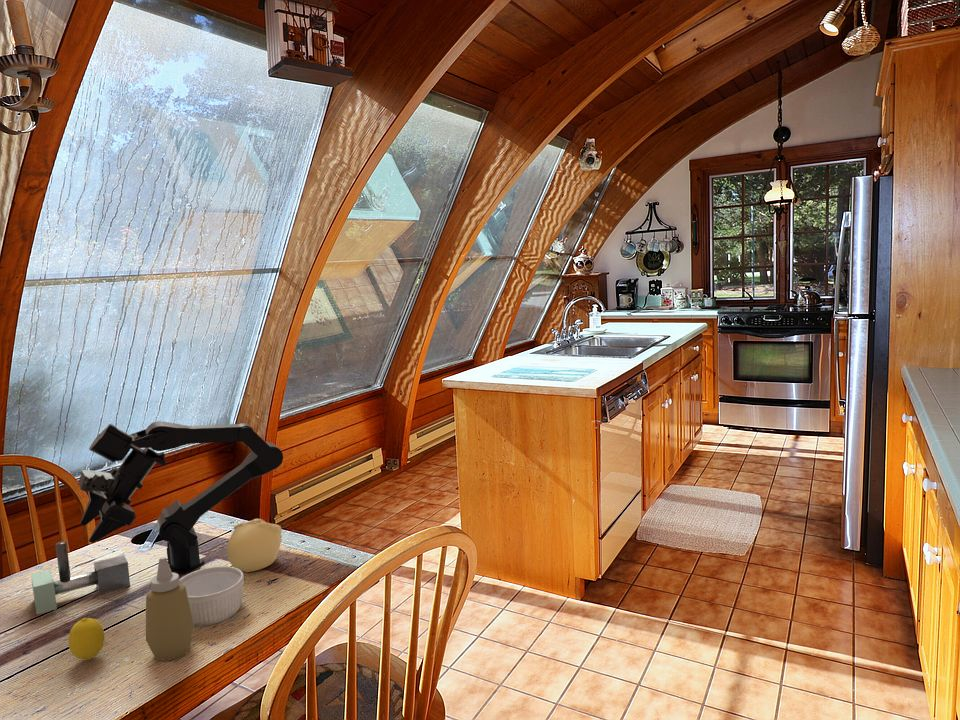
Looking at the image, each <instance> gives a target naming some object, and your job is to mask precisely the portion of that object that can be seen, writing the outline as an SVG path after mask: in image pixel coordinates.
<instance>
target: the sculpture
mask: <svg viewBox="0 0 960 720" xmlns="http://www.w3.org/2000/svg"><path fill="white" fill-rule="evenodd" d="M233 530H234V531H233V532H232V533H231V535H230V537H229V538H228V541H227V544H226V557H227V559H228V561H229V563H230V564H231V565H230V566H231V567H235V568H237V569H239V570H241V571H242V572H244V573H245V572H247V573H248V572H255V571H259V570H262V569H265V568H266V567H268V566H270V565H272V564H273V563H274V562H275V561H276V560H277V557H278V555H279V551H280V547H281V544H282V541H283V539H282V538H283V536H282V527H281V525H279V524H276V523H271V522H267V521H265V520H264V519H261V518H254V519H252V520H249V521H246V522H240V523H238V524H235V525H234V526H233Z"/></svg>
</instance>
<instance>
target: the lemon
mask: <svg viewBox="0 0 960 720" xmlns="http://www.w3.org/2000/svg"><path fill="white" fill-rule="evenodd" d="M105 639H106V638H105V631H104V628H103V626H102V623H101V622H100V621H99V620H97V619H96V618H93V617H92V618H91V617H88V618H87V617H83V618H81V619H80V620H78V621H77V622H76V623H75V624H73V626H72V627H71V629H70V631H69V635H68V649H69V650H70V653H71V654H72V656H74V657H75V658H76V659H80V660H87V661H90V660H92V658H93V657H95V656H96V655H98V654H99V653H100V651H101V650H102V648H103V646H104V643H105Z"/></svg>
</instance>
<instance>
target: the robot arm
mask: <svg viewBox="0 0 960 720" xmlns="http://www.w3.org/2000/svg"><path fill="white" fill-rule="evenodd" d="M233 442H234V443H235V442H236V443H238V442H241V443H243V444H244V445H246V447H248V448H249V450H251V451H250V452H249V453H248V455H247V456H246V457H245V458H244V459H243V461H242V462H241V463H240V464H239V465H238V466H236V467H235V468H233V469H232V470H231V471H229V472H228V473H226V474H225V475H224V476H222V477H221V478H220V479H219V480H217V481H216V482H214V483H212V485H210V486H208V487H207V488H205V489H204V490H203V491H202V492H200V493H199V494H198V495H196V496H195V497H193V498H192V499H190V500H188V501H186V502H182V503H181V502H180V500H179V499H176V500H174V501H173V502H172V503H171V504H170V505H169V506H167V507H166V508H162V509H161V512H162V513H160V514H159V516H158V517H157V521H156V526H157V531H158V534H159V537H160V538H161V539H162V540H163V541H165V542H166V546H167V547H166V555H167V556H166V558H167V561H168V564H169V566H170V569H171V572H172V573H177V574H178V573H179V574H189V573H190V572H191V571H193V570H194V569H196V568H197V567H199V566H201V565H203V564H204V563H206V561H205V559H200V558H201V557H200V549H199V547H200V546H199V540H198V535H197V532H196V530H195V528H194V526H195V525H196V523H197V522H198V521H199V519H200V518H201V517H202V516H203V515H204V514H206V513H207V512H208V511H210V510H212V509H213V508H215V506H217V505H218V504H220V503H221V502H222V501H224V500H226V498H228V497H230V495H232V494H234V493H235V492H236V491H237V490H239V489H240V488H242V487H243V486H244V485H246V484H247V483H248V482H250V481H251V480H253V479H255V478H258V477H261V476H264V475H267V474H269V473H271V472H272V471H274V470H276V469H278V468H279V467H281V465H282V464H283V462H284V460H283V459H284V454H283V451H282V450H281V449H280V448H279V447H278V446H277V445H276V444H274V443H273V442H271V441H265V440H264V439H263V438H262V437H261V436H260V435H259V434H257V432H255V431H254V429H253V427H252V426H250V424H248V423H246V422H243V423H242V422H241V423H235V424H234V423H233V424H206V425H205V424H204V425H186V424H180V423H175V422H170V421H169V422H168V421H161V420H160V421H159V420H158V421H154V422H151V423H150V424H149V425H148V426H147V427H146V428H145V429H142V430H139V431H136V432H133V433H130V434H128V433H127V432H124V431H122V429H119V428H118V427H117V426H115V425H114V424H112V423H109V424H108V425H107V426H106V427H104V429H103V430H102V431H101V432H100V433H98V435H97V436H96V437H95V438H94V440H93V442H92V443H91V445H89V448H88V451H90V452H92V453H95V454H96V455H98V456H100V457H102V458H103V459H106V460H107V461H110V462H111V463H115V462H116V461H117V462H119V461H122V463H121V464H120V466H119V467H116V466H115V467H113V468H111V469H110V471H109V472H105V471H101V470H100V471H99V470H91V469H90V470H89V469H82V470H81V472H80V476H79V480H78V481H77V482H78V483H77V485H78V486H79V490H81V491H83V492H87V494H88V502H87V506H86V507H85V510H84V513H83V515H82V518H81V520H80V523H79V524H80V525H82V526H83V527H84V526H87V525H88V524H89V523H91V522H92V521H93V520H94V519H96V518H97V517H98V516H99V517H100V519H99V520H98V523H97V524H96V526H95V528H94V530H93V531H92V533H91V535H90V537H89V539H88V542H89V543H91V544H94V543H96V542H98V541H99V540H101V539H103V538H105V537H106V536H108V535H110V534H112V533H113V532H115V531H117V530H118V529H119V530H120V529H121V528H123V527H127V526H132V524H133V523H134V522H135V520H136V519H137V516H136V512H135V510H134V509H133V507H132V506H130V504H131V502H132V499H131V497H132V496H133V494H134V493H135V492H136V490H137V489H139V490H141V489H142V488H143V486H144V485H143V483H142V482H143V480H144V479H146V477H147V475H148V474H149V473H150V471H151V470H152V468H153V467H154V466H155V465H156V464H159V465H161V466H163V467H165V466H167V463H166V459H165V457H166V455H165V452H164V451H168V450H172V449H173V450H174V449H177V448H180V447H183V446H187V445H192V444H211V443H233ZM130 450H131V451H130ZM157 451H158V452H157ZM128 453H129V454H128Z"/></svg>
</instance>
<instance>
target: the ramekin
mask: <svg viewBox="0 0 960 720" xmlns="http://www.w3.org/2000/svg"><path fill="white" fill-rule="evenodd" d="M244 578H245V577H244V572H243V571H241V570H239V569H237V568H235V567H233V566H229V565H228V566H225V565H219V566H218V565H217V566H210V567H205V568H200V569H198V570H195V571H192V572H188V573H186V575H184V576H182V577H181V578H179V581H180V584H183V585H184V586H185V587H186V591H187V596H188V600H189V605H190V609H191V614H192V619H193V623H194V626H197V627H198V626H199V627H203V626H211V625H215V624H218V623H222V622H224V621H227V620H229V619H230V618H232V617H233V616H234V615H236V614H237V613H238V611H239V609H241V606H242V602H243V586H244V585H243V584H244V583H245V580H244Z"/></svg>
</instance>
